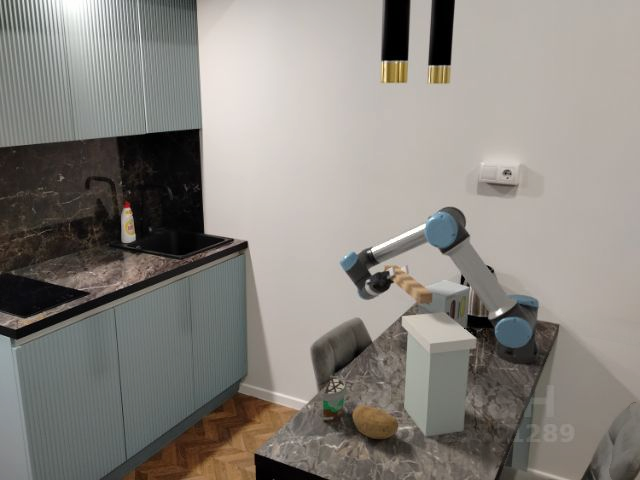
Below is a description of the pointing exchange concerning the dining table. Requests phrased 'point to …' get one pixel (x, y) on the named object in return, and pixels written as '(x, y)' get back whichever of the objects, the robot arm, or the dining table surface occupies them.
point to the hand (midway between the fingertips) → (400, 270)
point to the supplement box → (448, 301)
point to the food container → (333, 399)
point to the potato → (374, 422)
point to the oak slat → (410, 285)
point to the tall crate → (436, 372)
